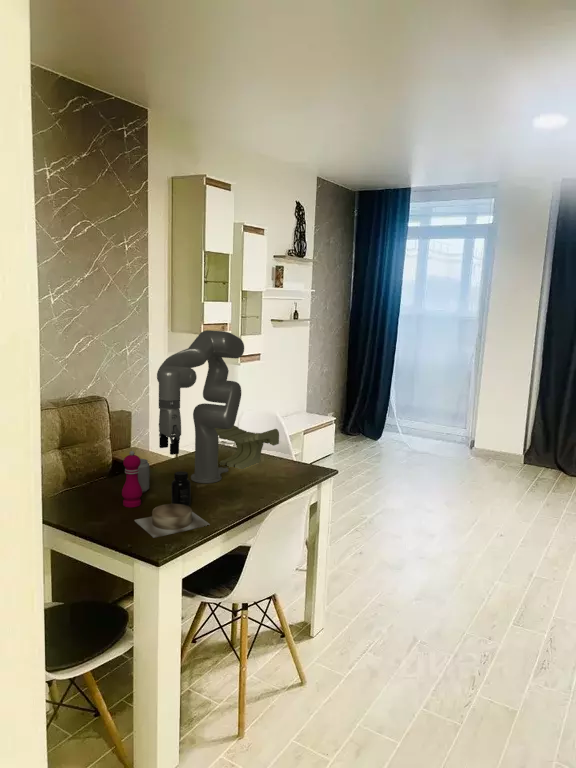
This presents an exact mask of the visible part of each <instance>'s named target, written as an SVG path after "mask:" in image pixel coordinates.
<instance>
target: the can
mask: <svg viewBox="0 0 576 768" xmlns="http://www.w3.org/2000/svg"><path fill="white" fill-rule="evenodd" d="M140 461H141V464H140V466H139V467H138V468H139V473H138V481H139V484H140V486H141V488H142V494H143V493H146V492H147V491H148V490H149V489H150V463H149V461H148V459H145V458H140Z"/></svg>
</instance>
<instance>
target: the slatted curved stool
mask: <svg viewBox="0 0 576 768" xmlns="http://www.w3.org/2000/svg"><path fill="white" fill-rule="evenodd" d="M215 430H216V432H217V434H218V438H219V440H220V439H221V440H225V441H226V440H227V441H230V442H234V444H235V446H236V451H235V453H234V454H232V455H231V456H229V457H227V458H225V459H223V460H220V461H219V462H218V465H219V464H220V465H219V466H221V465H227V466H229V467H228V468H230V467H235V468H238V469H244V468H246V467H249V466H251V465H254V464H256V463H259V462H260V463H261V457H262V452H263V447H264V444H269V445H271V446H276V445H279V444H280V432H279V431H280V430H278V429H277V428H274V429H271V430H267V431H264V432H263V431H262V432H257V433H255V432H251V431H247V430H244V429H242V428H239V426H237V425H234V426H233V427H232V428H231V429H219V428H215ZM260 463H259V464H260ZM227 466H226V467H227ZM235 468H234V469H235ZM249 468H250V467H249ZM238 469H237V470H238ZM244 470H245V469H244Z"/></svg>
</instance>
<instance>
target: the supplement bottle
mask: <svg viewBox="0 0 576 768" xmlns="http://www.w3.org/2000/svg"><path fill="white" fill-rule="evenodd" d="M173 476H174V477H173V478H174V479H173V480H172V481H171V504H183V505H186V506H189V507H190V506H191V502H192V500H191V499H192V498H191V496H192V495H191V491H192V490H191V489H192V488H191V487H192V485H191V480H190V479H189V474H188V472H187V471H176V472H174V475H173Z"/></svg>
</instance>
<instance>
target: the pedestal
mask: <svg viewBox="0 0 576 768" xmlns="http://www.w3.org/2000/svg"><path fill="white" fill-rule="evenodd" d="M151 514H152V515H151V516H147V517H142V518H138V519H134V522H135V523H136V525H138V526H140V528H142V529H143V530H144V531H145V532H146V533H148V534H149V535H150V536H151V537H152V538H153V539H154V538H160V537H164V536H167V535H172V534H177V533H182V532H186V531H191V530H196V529H199V528H203V527H204V526H205V527H208V526H207V525H209V526H210V525H211V524H210V522H208V521H206V520H205V519H203V518H202V517H200V516H199V515H198V514H196V513H195V512H194V511H193V508H192V507H191V506H190V505H189V506H186V505H183V504H172V503H167V504H162V505H158V506H156V507H155V508H153V509H152V511H151ZM205 527H204V528H205Z"/></svg>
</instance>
